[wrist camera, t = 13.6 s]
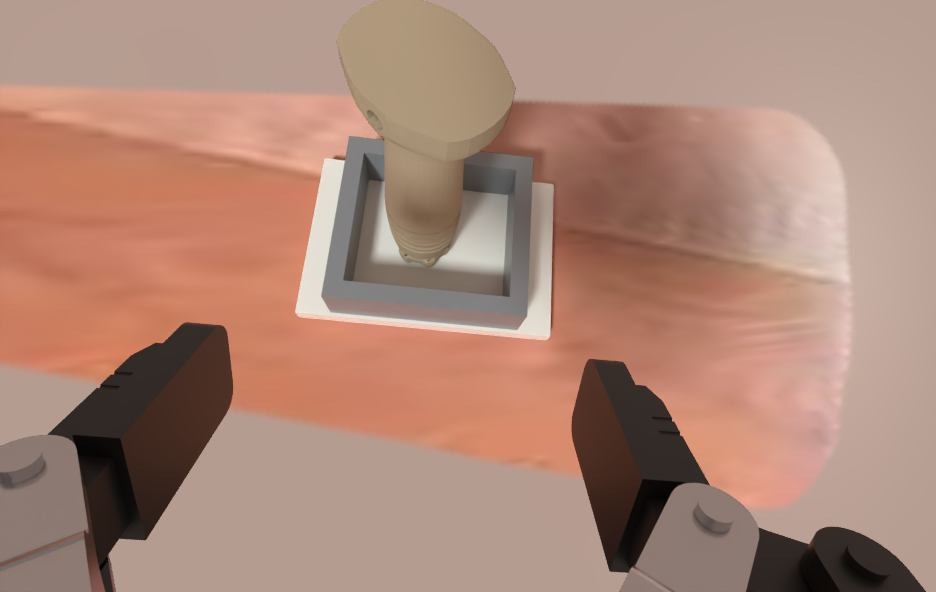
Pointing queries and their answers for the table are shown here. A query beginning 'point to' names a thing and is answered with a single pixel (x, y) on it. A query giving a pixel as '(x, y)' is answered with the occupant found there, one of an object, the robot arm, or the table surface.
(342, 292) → the holder
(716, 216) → the table surface
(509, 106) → the handle
